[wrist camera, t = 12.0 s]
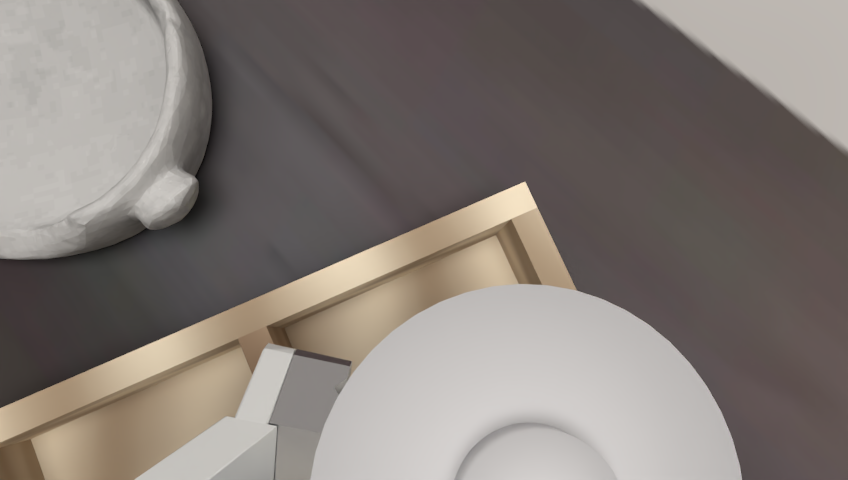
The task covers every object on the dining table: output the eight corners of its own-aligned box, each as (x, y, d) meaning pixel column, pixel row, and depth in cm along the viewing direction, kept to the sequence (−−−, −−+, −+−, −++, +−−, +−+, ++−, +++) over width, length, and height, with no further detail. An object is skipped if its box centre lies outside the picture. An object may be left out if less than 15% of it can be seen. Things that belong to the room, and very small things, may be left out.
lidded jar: (501, 281, 17) (646, 209, 7) (585, 463, 16) (859, 642, 7) (321, 361, 16) (226, 395, 7) (401, 553, 16) (420, 883, 6)
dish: (262, 218, 27) (232, 191, 22) (-81, 324, 26) (-195, 321, 21) (169, -90, 29) (122, -180, 24) (-155, -5, 27) (-276, -81, 22)
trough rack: (503, 207, 27) (525, 181, 23) (621, 457, 26) (667, 482, 21) (11, 421, 25) (-73, 439, 21) (111, 705, 24) (45, 790, 19)
